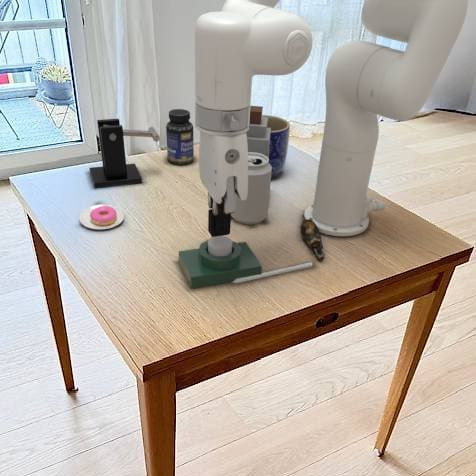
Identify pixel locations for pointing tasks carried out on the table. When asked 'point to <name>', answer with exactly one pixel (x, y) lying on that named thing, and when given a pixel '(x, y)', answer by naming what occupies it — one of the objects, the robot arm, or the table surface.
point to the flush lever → (140, 133)
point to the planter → (278, 142)
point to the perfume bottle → (258, 132)
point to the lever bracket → (113, 158)
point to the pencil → (274, 272)
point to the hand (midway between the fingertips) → (219, 233)
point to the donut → (101, 216)
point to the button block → (218, 265)
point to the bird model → (312, 237)
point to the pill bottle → (179, 137)
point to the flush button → (220, 246)
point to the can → (255, 191)
